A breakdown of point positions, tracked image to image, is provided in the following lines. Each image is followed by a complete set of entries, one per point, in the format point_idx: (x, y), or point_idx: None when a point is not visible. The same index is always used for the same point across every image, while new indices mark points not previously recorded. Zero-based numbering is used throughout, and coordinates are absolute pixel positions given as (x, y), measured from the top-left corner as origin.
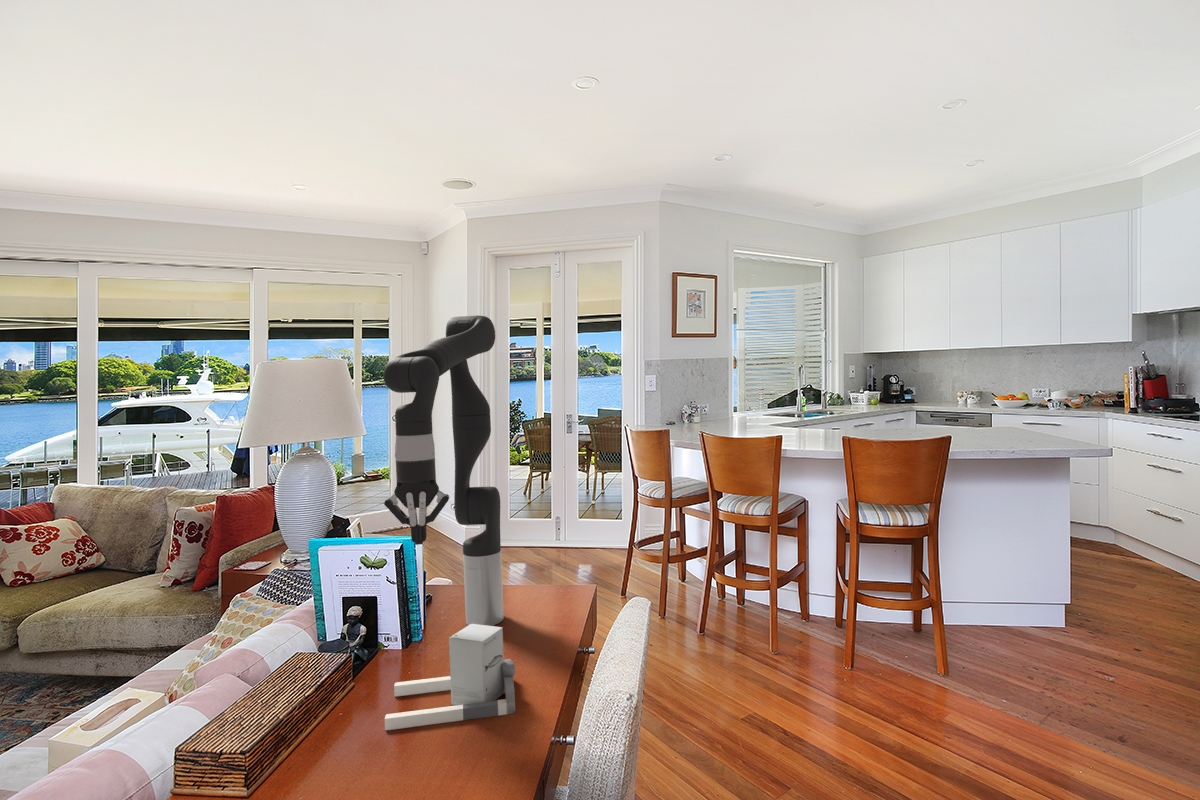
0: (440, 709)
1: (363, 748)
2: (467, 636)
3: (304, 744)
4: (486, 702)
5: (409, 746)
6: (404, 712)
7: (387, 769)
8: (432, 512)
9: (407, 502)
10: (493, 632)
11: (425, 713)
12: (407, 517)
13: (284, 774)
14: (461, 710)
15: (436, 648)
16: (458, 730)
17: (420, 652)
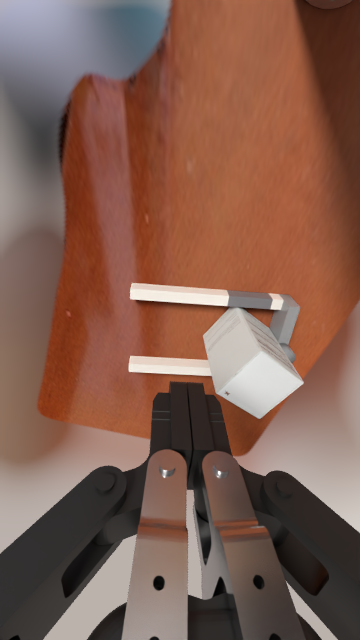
0: (189, 371)
1: (113, 385)
2: (243, 400)
3: (48, 364)
4: None
5: (157, 393)
6: (149, 365)
7: (140, 417)
8: (287, 578)
9: None
10: (284, 397)
11: (173, 373)
12: (124, 530)
13: (48, 402)
14: (211, 375)
15: (195, 115)
16: (204, 382)
17: (163, 125)
